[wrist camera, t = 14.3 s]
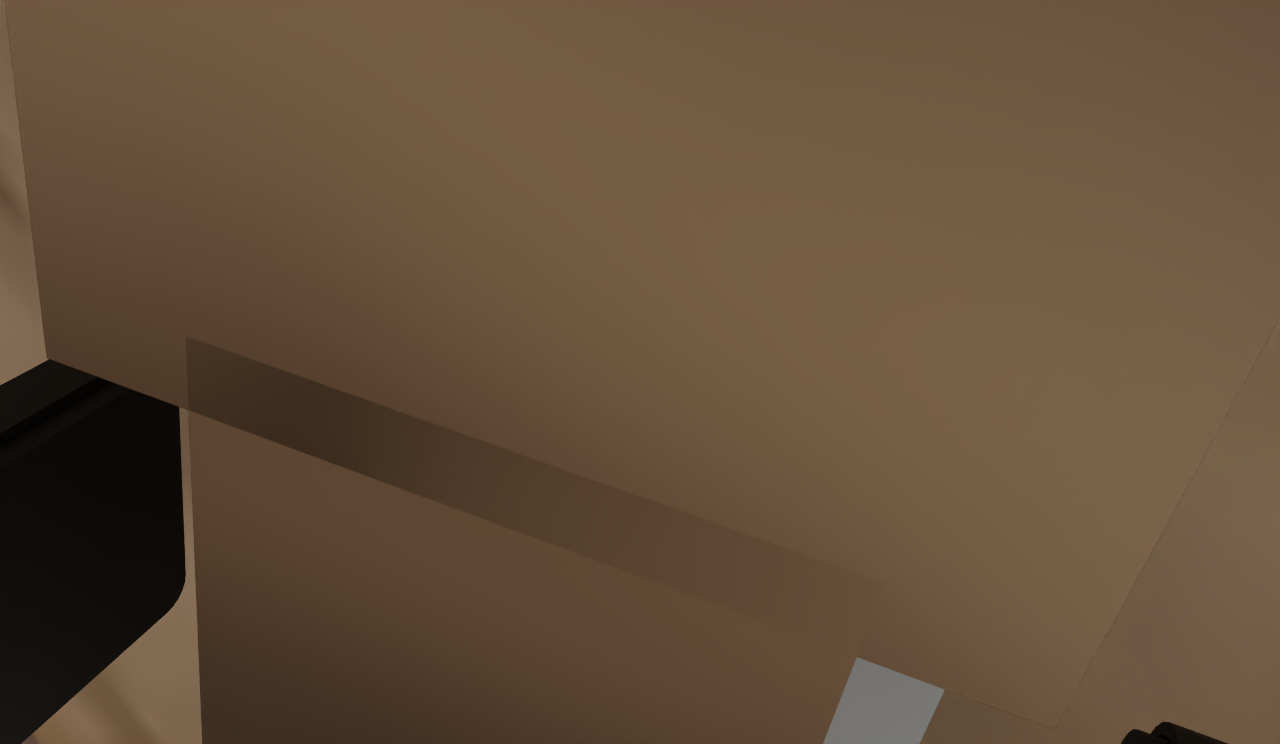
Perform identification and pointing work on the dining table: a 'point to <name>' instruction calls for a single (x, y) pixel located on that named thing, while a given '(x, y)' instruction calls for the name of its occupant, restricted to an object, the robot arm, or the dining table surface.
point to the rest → (882, 707)
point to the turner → (656, 337)
